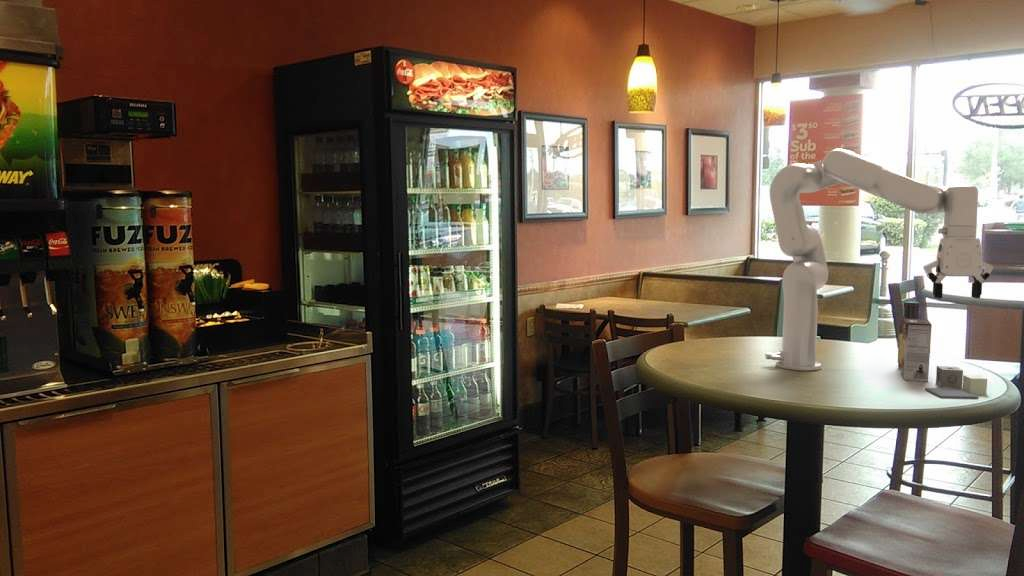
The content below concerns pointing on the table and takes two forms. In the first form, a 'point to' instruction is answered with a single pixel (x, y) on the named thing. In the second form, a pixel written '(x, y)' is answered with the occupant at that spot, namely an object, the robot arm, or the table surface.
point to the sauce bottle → (909, 313)
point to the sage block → (974, 384)
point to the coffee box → (916, 349)
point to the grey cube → (949, 377)
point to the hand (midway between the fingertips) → (956, 297)
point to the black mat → (951, 393)
